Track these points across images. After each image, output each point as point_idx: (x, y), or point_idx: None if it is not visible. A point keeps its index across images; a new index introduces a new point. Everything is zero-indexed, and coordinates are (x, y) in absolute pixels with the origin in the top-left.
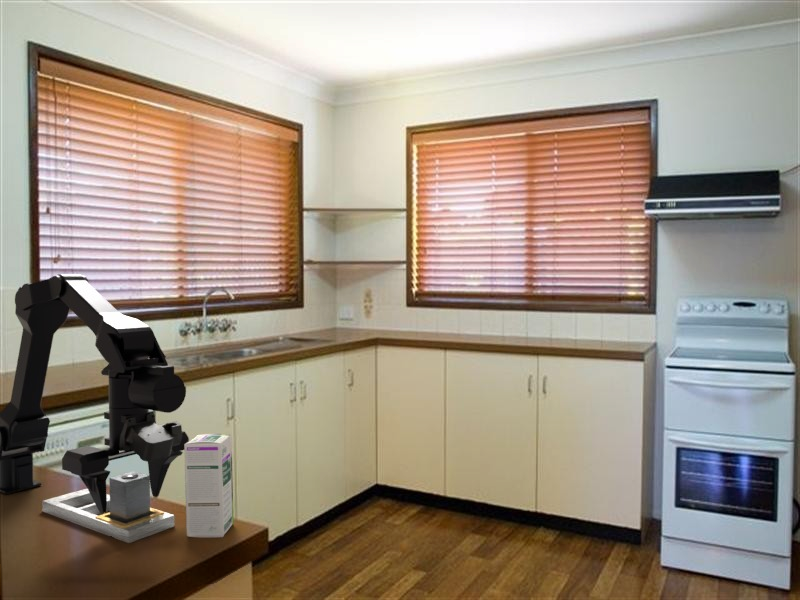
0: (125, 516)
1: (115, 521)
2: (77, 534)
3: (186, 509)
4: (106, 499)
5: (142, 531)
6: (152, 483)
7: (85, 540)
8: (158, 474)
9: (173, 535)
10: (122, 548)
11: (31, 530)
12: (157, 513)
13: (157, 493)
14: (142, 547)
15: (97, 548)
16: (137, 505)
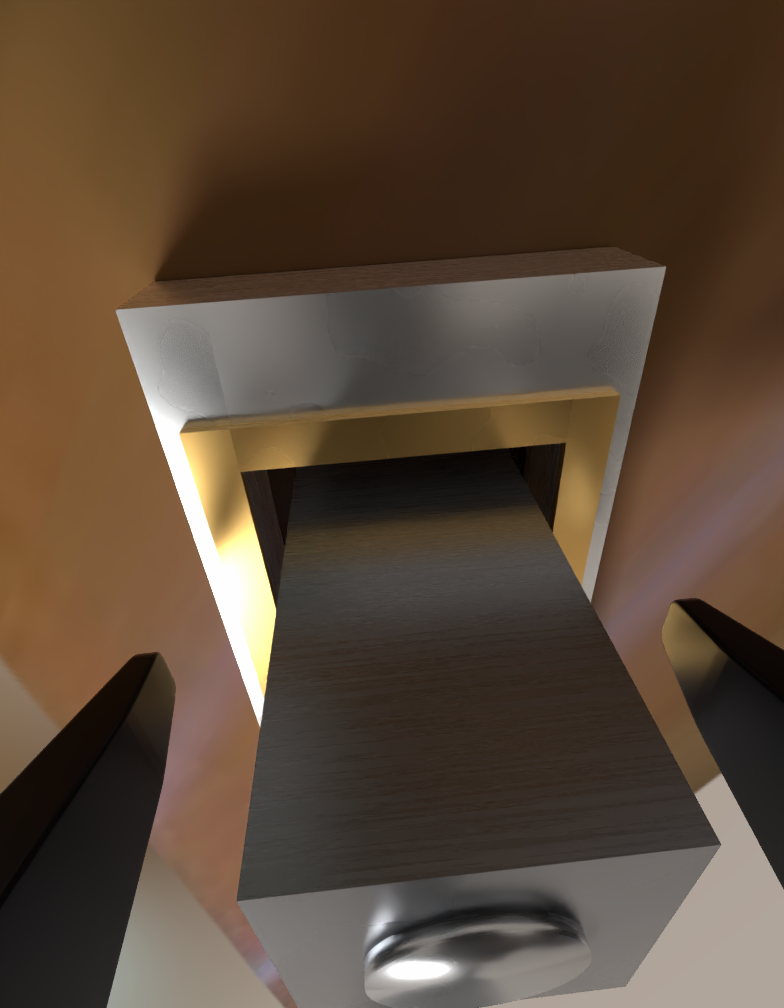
0: (534, 511)
1: (568, 530)
2: (628, 614)
3: None
4: (778, 687)
5: (498, 267)
6: (138, 805)
7: (680, 521)
8: (32, 905)
9: (258, 51)
10: (714, 183)
11: (670, 749)
12: (246, 449)
13: (139, 673)
14: (632, 23)
15: (767, 350)
16: (429, 559)
